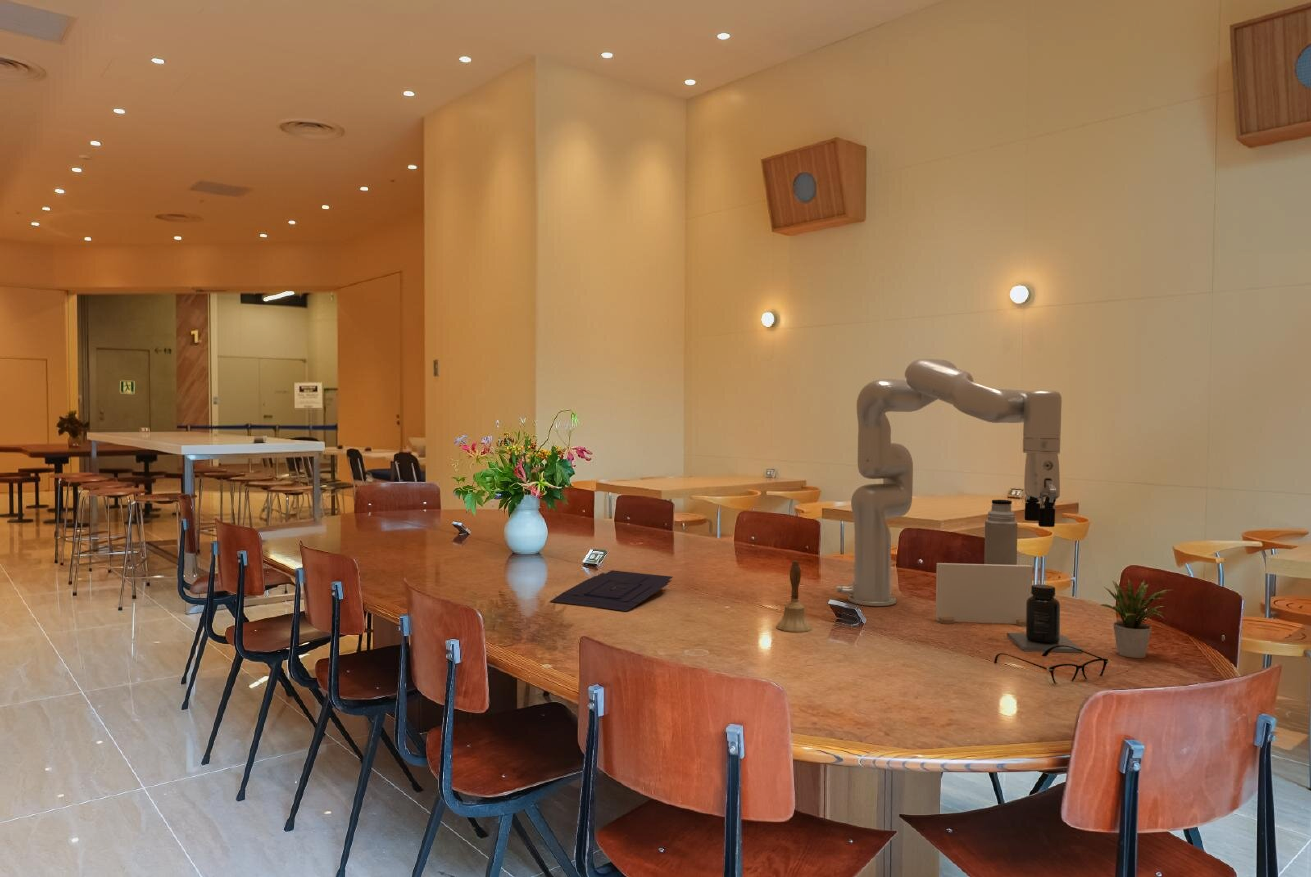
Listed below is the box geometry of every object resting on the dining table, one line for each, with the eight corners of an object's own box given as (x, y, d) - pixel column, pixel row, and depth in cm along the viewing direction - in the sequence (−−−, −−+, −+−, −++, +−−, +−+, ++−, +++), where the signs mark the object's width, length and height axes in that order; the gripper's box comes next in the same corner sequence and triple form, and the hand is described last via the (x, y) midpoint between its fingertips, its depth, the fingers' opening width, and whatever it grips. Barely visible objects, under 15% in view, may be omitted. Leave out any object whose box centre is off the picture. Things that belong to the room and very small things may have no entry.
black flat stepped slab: (680, 586, 242) (679, 574, 241) (628, 621, 216) (627, 608, 215) (606, 578, 253) (606, 566, 253) (549, 611, 227) (548, 598, 226)
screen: (939, 623, 205) (939, 565, 205) (934, 617, 211) (934, 561, 211) (1034, 626, 203) (1035, 568, 202) (1026, 620, 208) (1027, 563, 208)
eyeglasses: (1049, 688, 159) (1049, 667, 158) (986, 665, 173) (987, 645, 173) (1112, 678, 165) (1113, 657, 165) (1047, 656, 179) (1047, 637, 179)
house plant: (1172, 670, 168) (1174, 588, 168) (1094, 659, 176) (1095, 581, 175) (1173, 653, 181) (1175, 576, 180) (1100, 643, 188) (1101, 570, 187)
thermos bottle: (979, 601, 229) (981, 498, 228) (1010, 602, 228) (1012, 498, 227) (988, 608, 221) (990, 501, 220) (1020, 609, 220) (1022, 501, 219)
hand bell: (815, 626, 203) (816, 559, 202) (806, 634, 195) (807, 565, 195) (782, 622, 206) (782, 556, 206) (771, 630, 199) (772, 562, 198)
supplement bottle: (1066, 642, 186) (1067, 587, 185) (1045, 646, 183) (1046, 590, 182) (1039, 634, 192) (1040, 582, 192) (1018, 638, 189) (1019, 584, 188)
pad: (1023, 650, 182) (1023, 647, 182) (1007, 636, 194) (1007, 632, 194) (1082, 653, 180) (1082, 649, 180) (1062, 638, 192) (1062, 634, 192)
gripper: (1073, 448, 178) (1070, 529, 179) (1046, 444, 196) (1044, 518, 196) (1035, 448, 179) (1033, 528, 180) (1012, 444, 196) (1010, 518, 197)
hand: (1039, 523), depth 188 cm, fingers open, 9 cm apart
